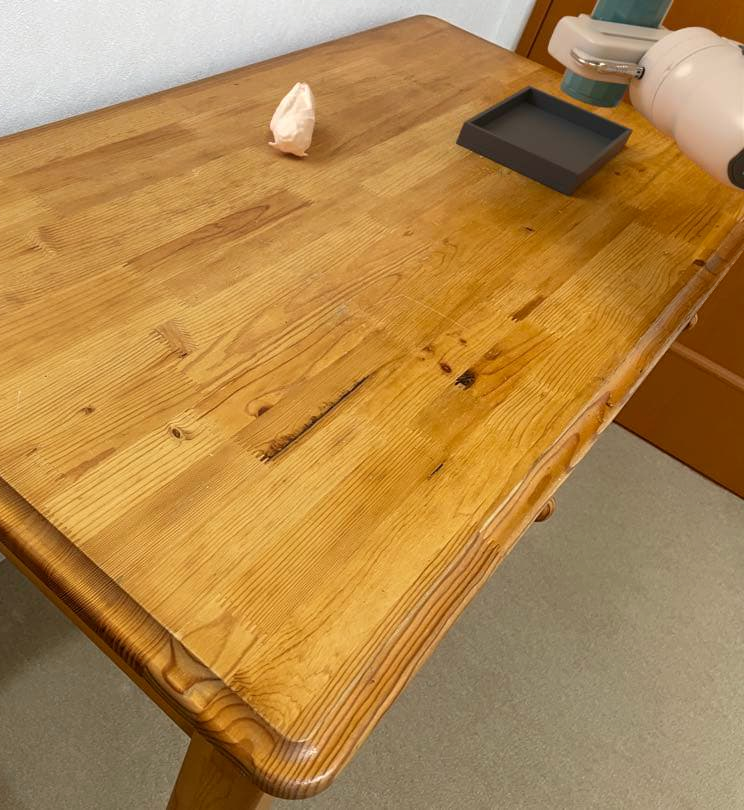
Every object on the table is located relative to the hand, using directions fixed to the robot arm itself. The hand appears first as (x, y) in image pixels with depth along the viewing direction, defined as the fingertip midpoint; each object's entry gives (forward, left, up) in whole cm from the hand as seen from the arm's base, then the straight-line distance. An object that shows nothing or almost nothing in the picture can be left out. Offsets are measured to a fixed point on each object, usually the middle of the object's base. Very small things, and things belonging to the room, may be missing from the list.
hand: (617, 27), depth 91 cm
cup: (0, +1, -7) cm, 7 cm away
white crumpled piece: (+31, -2, -18) cm, 36 cm away
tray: (-4, -9, -18) cm, 20 cm away
